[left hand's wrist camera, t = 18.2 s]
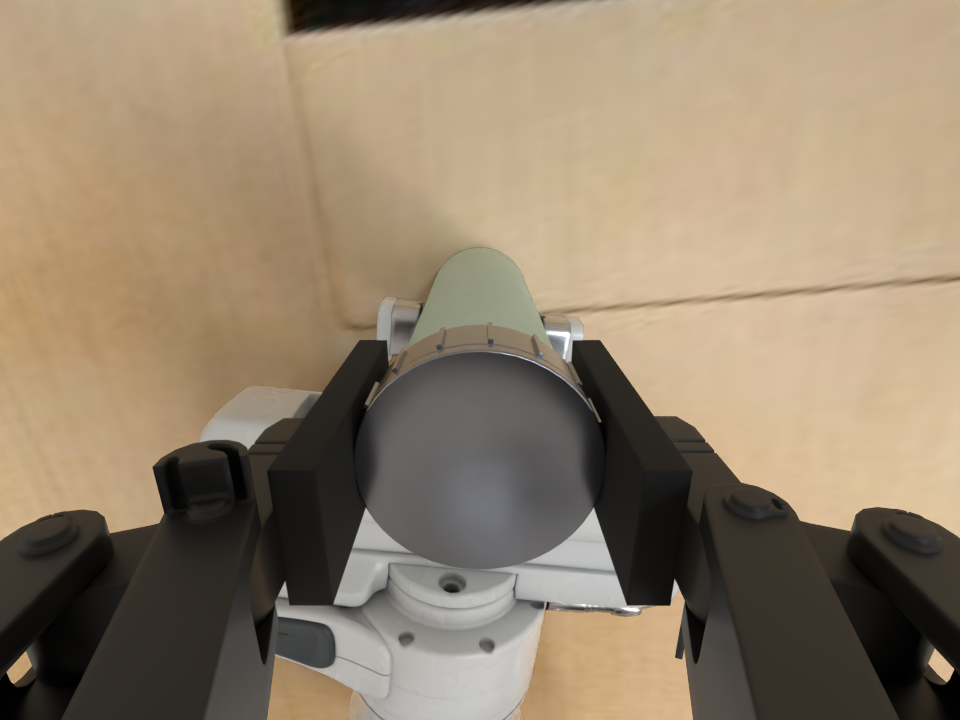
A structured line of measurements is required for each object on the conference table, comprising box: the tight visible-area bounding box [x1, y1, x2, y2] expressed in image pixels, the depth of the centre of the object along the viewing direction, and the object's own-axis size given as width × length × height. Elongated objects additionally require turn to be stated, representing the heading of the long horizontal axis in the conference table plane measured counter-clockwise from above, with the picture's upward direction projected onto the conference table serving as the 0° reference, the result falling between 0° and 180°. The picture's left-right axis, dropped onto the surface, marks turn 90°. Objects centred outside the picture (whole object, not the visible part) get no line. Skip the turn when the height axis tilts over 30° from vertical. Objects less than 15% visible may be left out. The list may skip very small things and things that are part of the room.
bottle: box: [406, 248, 553, 350], centre depth 18 cm, size 5×5×15 cm
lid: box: [353, 322, 606, 569], centre depth 11 cm, size 5×5×2 cm
